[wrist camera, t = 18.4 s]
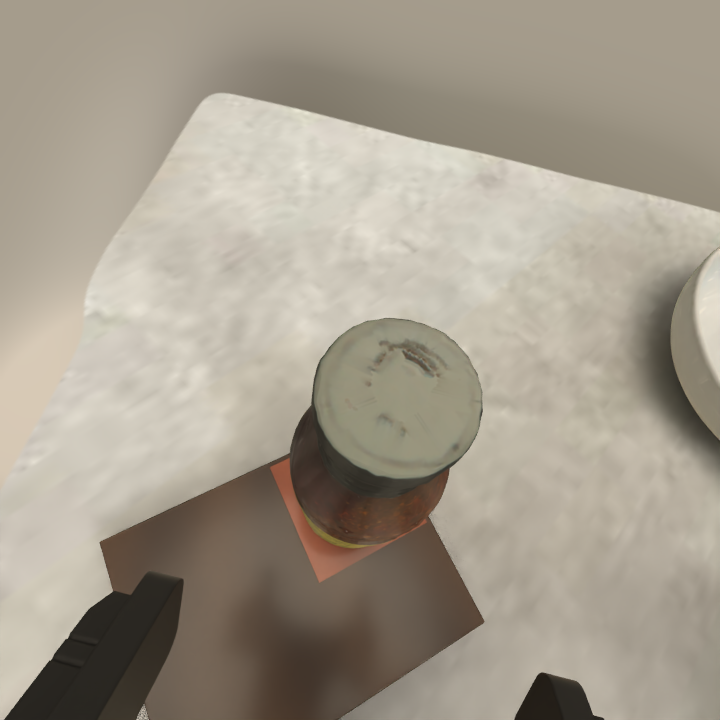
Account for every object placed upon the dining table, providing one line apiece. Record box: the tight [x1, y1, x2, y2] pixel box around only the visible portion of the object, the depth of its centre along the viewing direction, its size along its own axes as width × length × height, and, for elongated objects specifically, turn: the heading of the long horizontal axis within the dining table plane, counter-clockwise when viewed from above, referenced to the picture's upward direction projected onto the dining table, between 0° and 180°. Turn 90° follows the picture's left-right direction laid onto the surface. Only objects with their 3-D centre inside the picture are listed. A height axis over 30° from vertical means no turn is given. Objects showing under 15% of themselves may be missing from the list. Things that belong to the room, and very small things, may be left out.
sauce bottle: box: [290, 318, 483, 548], centre depth 19 cm, size 7×6×20 cm
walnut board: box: [100, 453, 484, 720], centre depth 27 cm, size 18×14×2 cm
